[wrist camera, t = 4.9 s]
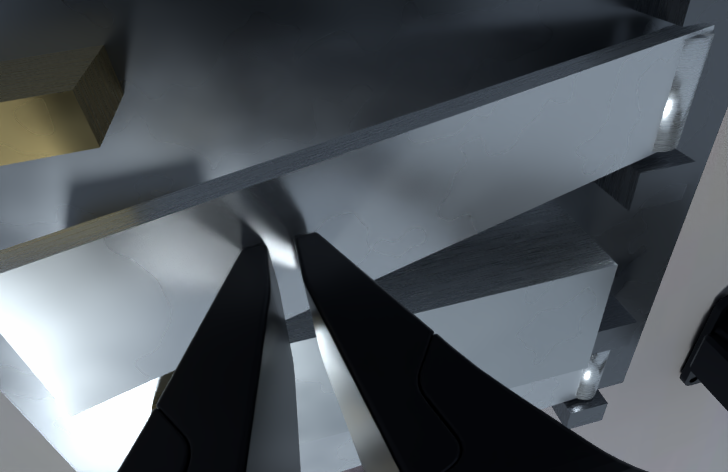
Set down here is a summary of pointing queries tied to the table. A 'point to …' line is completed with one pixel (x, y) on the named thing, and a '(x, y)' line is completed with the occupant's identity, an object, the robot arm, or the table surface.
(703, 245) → the table surface
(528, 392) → the strap rear
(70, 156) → the cooler plate
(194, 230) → the bar
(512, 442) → the robot arm
